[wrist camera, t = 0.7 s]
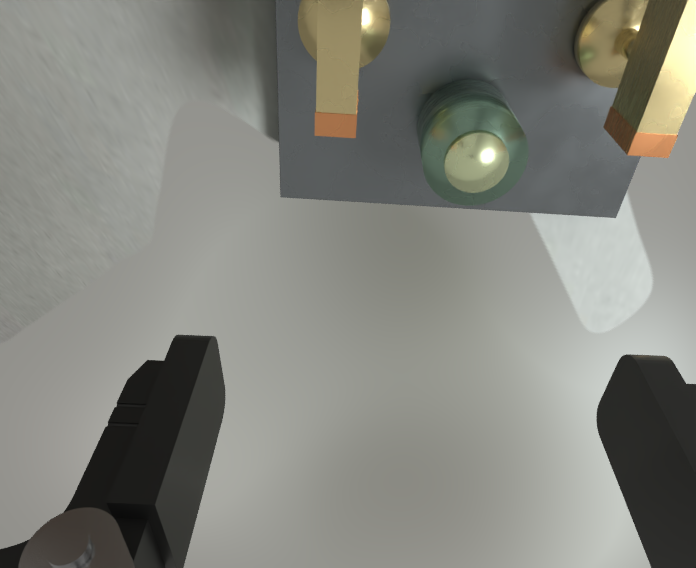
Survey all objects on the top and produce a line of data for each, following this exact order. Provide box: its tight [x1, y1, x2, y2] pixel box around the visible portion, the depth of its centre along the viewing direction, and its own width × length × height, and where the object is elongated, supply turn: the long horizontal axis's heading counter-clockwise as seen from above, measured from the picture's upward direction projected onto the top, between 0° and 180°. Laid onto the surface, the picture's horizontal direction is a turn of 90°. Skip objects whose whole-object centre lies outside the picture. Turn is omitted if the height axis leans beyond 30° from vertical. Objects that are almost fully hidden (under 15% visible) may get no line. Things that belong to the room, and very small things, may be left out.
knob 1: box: [298, 0, 390, 138], centre depth 29 cm, size 8×5×8 cm
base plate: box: [275, 0, 640, 218], centre depth 32 cm, size 20×24×7 cm
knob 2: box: [574, 0, 696, 158], centre depth 29 cm, size 8×5×8 cm
